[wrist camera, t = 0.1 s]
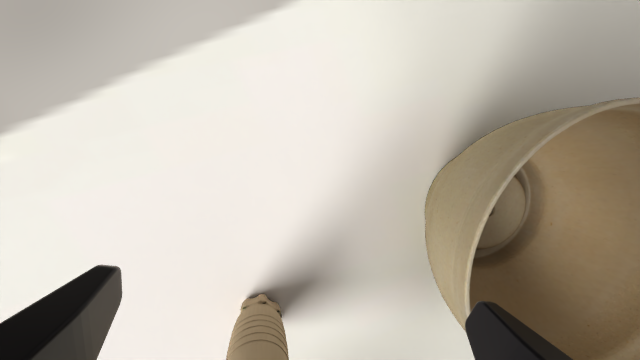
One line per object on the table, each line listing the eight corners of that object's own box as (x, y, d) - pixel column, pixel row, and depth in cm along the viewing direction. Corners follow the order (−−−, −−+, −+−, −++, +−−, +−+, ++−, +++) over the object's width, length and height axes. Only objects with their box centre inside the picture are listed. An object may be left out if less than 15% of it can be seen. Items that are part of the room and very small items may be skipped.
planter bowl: (567, 92, 25) (783, 79, 15) (554, 272, 29) (718, 365, 18) (376, 115, 23) (469, 119, 12) (389, 306, 27) (468, 434, 16)
